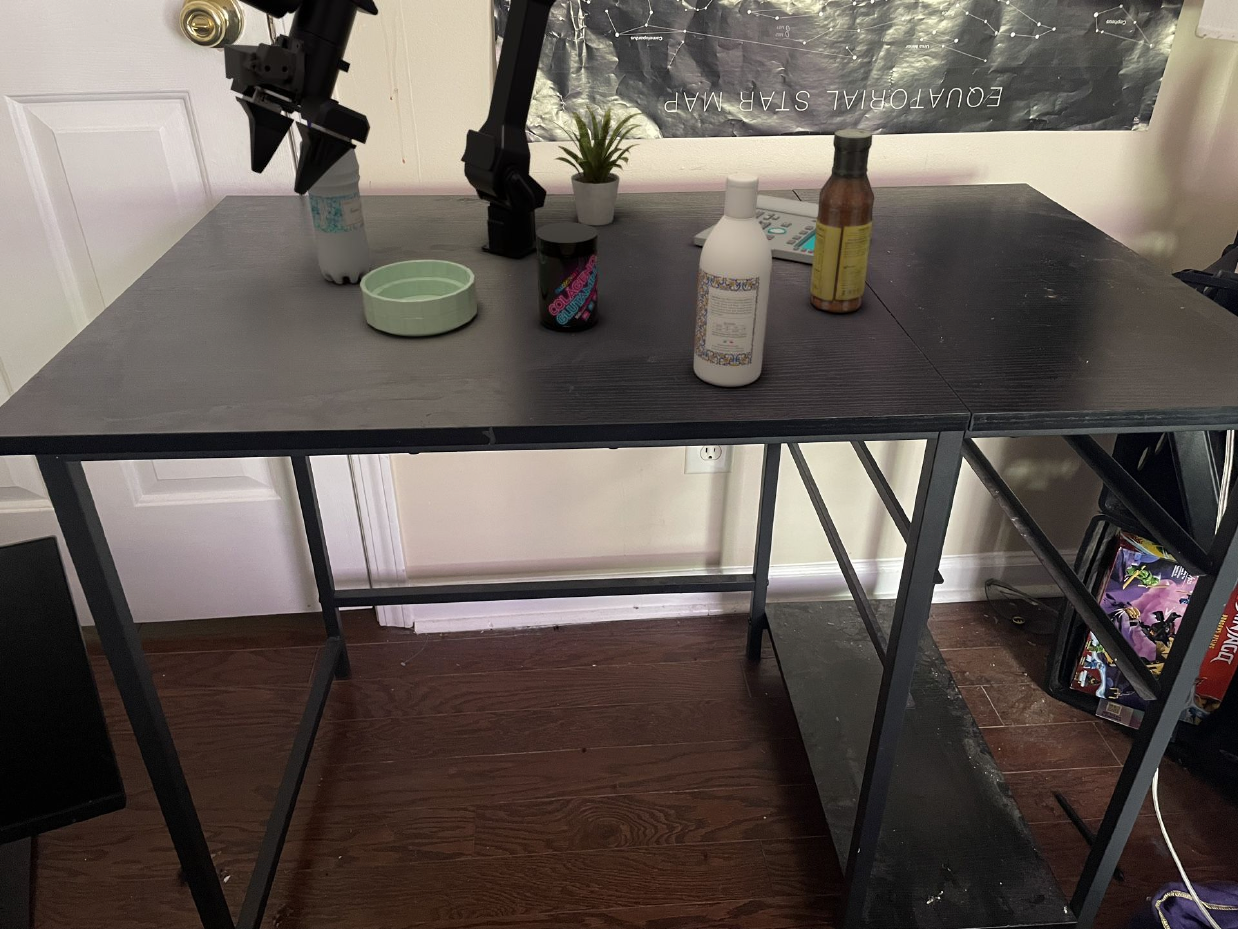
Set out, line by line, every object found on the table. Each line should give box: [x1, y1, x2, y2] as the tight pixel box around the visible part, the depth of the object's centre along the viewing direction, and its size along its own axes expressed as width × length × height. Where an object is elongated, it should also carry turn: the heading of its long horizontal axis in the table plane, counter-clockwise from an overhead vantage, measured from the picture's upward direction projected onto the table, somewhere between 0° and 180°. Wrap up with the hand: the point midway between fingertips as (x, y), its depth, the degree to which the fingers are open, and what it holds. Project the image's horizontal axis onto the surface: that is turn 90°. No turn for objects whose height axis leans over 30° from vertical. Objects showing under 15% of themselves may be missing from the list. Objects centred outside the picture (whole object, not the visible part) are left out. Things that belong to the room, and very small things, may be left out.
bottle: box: [299, 121, 372, 285], centre depth 108 cm, size 7×7×20 cm
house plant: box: [547, 102, 646, 226], centre depth 129 cm, size 14×14×16 cm
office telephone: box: [693, 194, 819, 265], centre depth 128 cm, size 23×3×20 cm
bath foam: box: [693, 172, 773, 388], centre depth 87 cm, size 7×7×20 cm
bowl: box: [359, 259, 478, 337], centre depth 103 cm, size 13×13×4 cm
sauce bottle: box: [809, 128, 875, 314], centre depth 103 cm, size 7×6×20 cm
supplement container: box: [536, 222, 599, 332], centre depth 100 cm, size 7×7×10 cm
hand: (276, 182), depth 99 cm, fingers open, 9 cm apart
